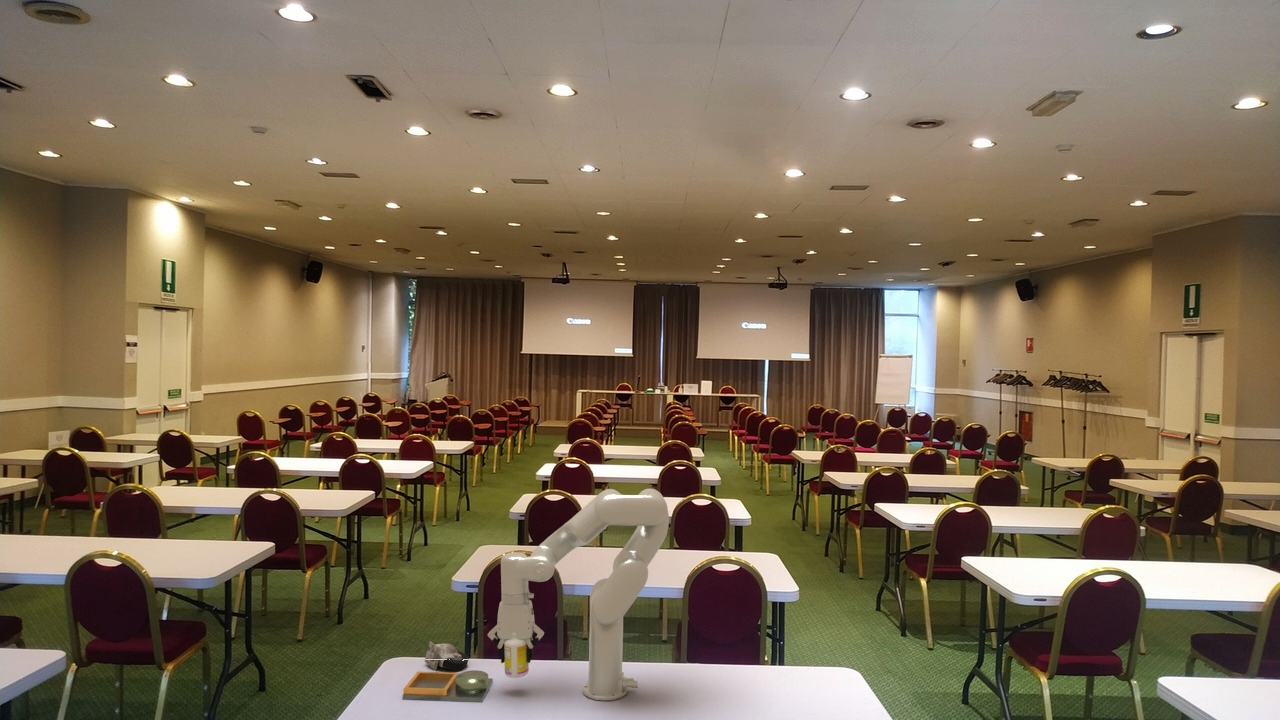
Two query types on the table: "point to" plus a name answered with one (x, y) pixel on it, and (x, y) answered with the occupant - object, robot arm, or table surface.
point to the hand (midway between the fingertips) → (516, 660)
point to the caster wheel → (445, 657)
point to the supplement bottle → (515, 657)
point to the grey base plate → (448, 686)
